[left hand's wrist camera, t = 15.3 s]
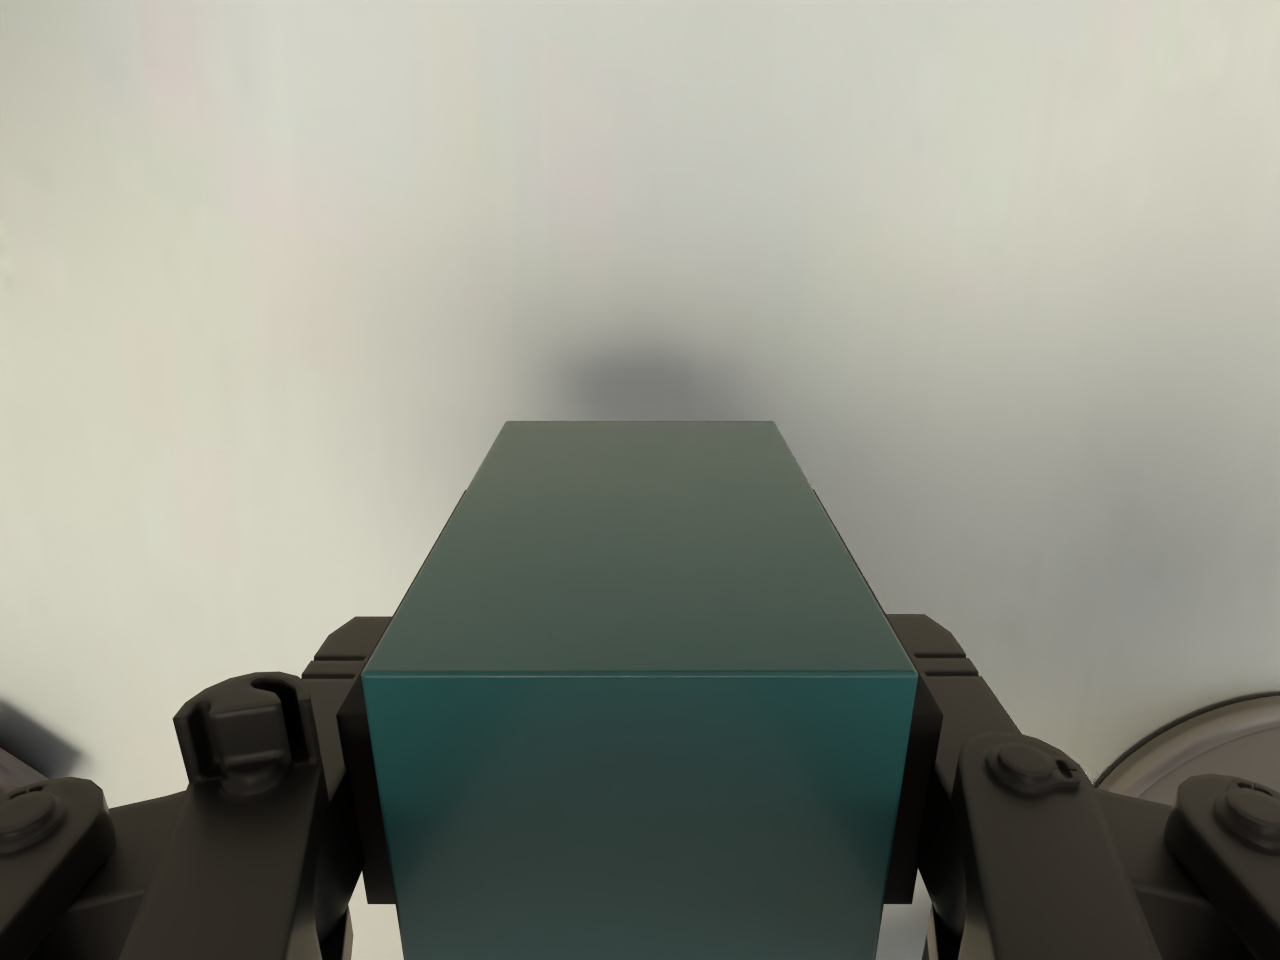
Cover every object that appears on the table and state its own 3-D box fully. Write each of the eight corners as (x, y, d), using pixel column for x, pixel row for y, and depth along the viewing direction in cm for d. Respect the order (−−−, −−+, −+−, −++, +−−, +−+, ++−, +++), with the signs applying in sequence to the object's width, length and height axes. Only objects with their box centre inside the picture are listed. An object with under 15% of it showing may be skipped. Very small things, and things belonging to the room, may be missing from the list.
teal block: (774, 420, 14) (920, 673, 7) (759, 650, 16) (862, 1051, 9) (505, 420, 14) (358, 674, 7) (520, 650, 16) (416, 1052, 9)
